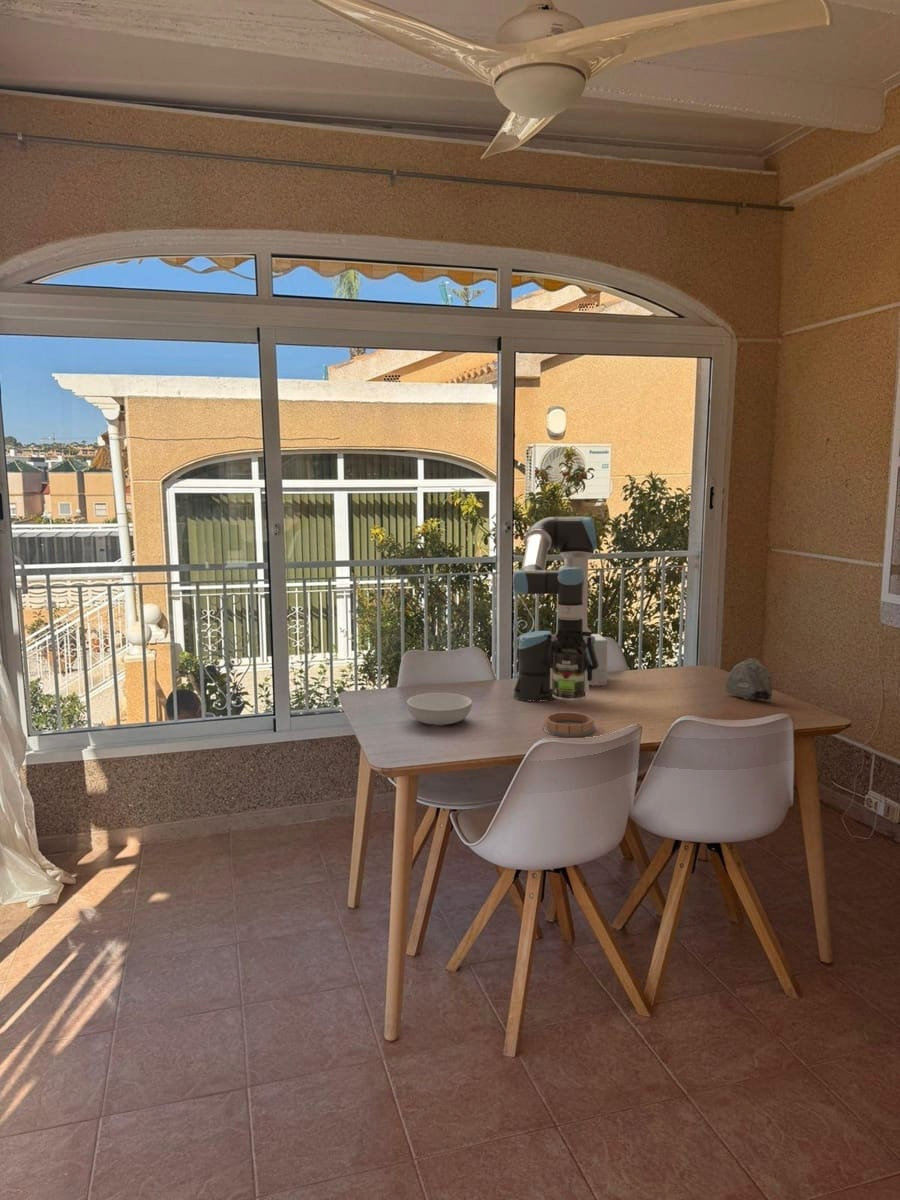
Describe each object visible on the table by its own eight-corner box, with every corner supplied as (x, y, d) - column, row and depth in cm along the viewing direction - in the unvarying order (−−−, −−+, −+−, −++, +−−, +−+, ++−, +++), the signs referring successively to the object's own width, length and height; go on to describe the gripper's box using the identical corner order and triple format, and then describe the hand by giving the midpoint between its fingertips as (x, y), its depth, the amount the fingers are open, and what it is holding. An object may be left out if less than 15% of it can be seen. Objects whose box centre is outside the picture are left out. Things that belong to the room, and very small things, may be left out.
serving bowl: (421, 734, 249) (421, 712, 248) (398, 717, 268) (397, 696, 267) (482, 726, 257) (482, 704, 256) (456, 709, 276) (455, 689, 275)
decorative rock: (773, 703, 280) (776, 660, 278) (761, 706, 276) (763, 662, 274) (734, 693, 293) (735, 652, 291) (722, 695, 290) (723, 654, 288)
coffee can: (582, 702, 244) (583, 655, 242) (549, 699, 247) (549, 653, 246) (589, 693, 254) (589, 649, 252) (556, 691, 257) (556, 647, 255)
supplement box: (598, 677, 319) (599, 633, 317) (607, 685, 306) (607, 639, 304) (565, 678, 318) (565, 634, 316) (572, 686, 305) (572, 640, 303)
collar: (536, 733, 248) (536, 722, 247) (550, 719, 262) (550, 709, 262) (588, 739, 242) (588, 728, 241) (599, 724, 256) (600, 714, 256)
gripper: (530, 617, 248) (530, 689, 251) (604, 621, 239) (603, 695, 242) (537, 614, 255) (537, 683, 258) (609, 618, 246) (608, 689, 249)
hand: (569, 689), depth 250 cm, fingers closed on coffee can, 10 cm apart
